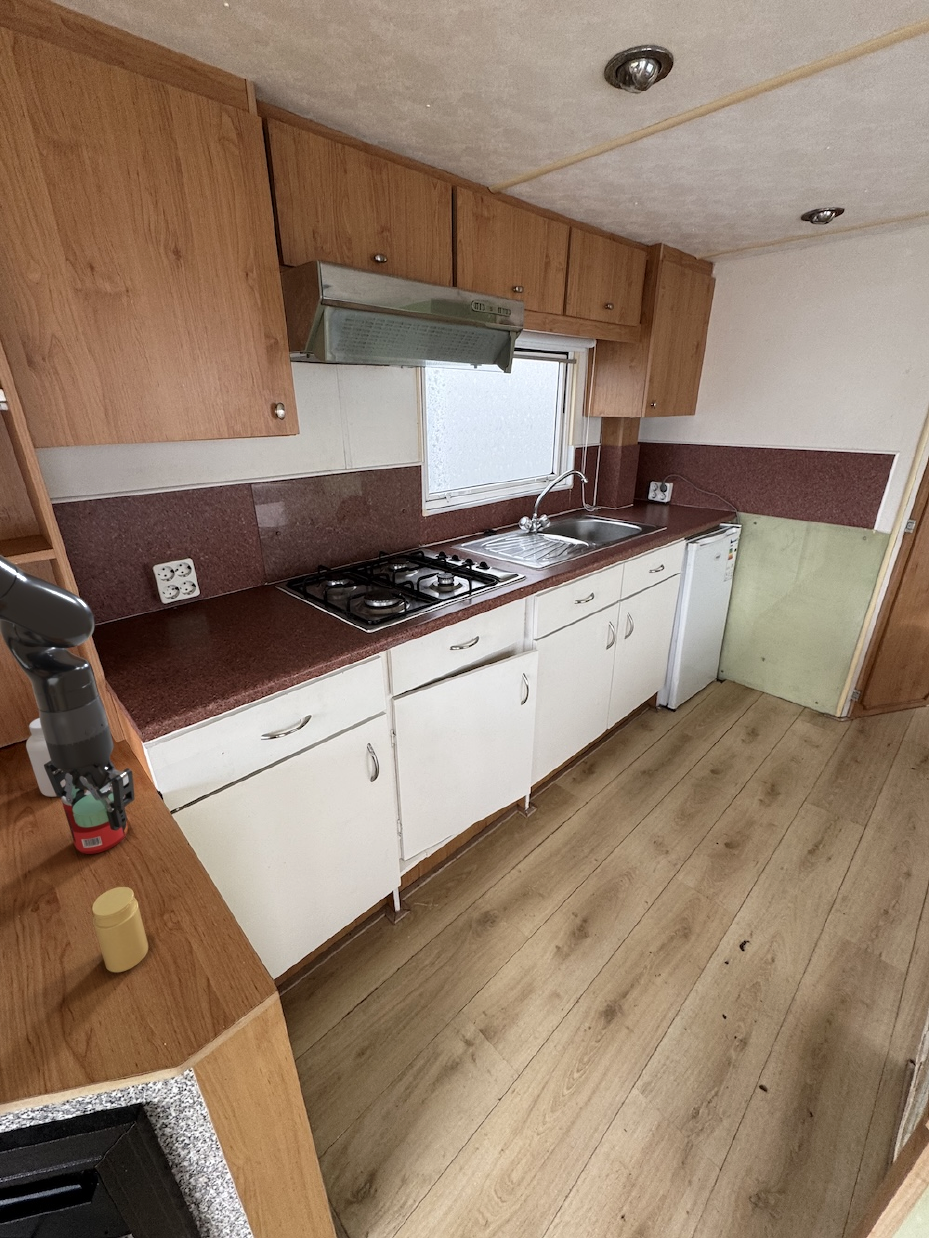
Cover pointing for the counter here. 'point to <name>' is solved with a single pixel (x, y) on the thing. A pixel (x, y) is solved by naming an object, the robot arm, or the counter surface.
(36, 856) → the counter surface
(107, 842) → the canned food
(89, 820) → the lid
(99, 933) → the jar
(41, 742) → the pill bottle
